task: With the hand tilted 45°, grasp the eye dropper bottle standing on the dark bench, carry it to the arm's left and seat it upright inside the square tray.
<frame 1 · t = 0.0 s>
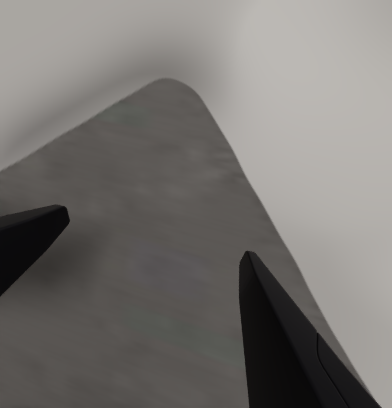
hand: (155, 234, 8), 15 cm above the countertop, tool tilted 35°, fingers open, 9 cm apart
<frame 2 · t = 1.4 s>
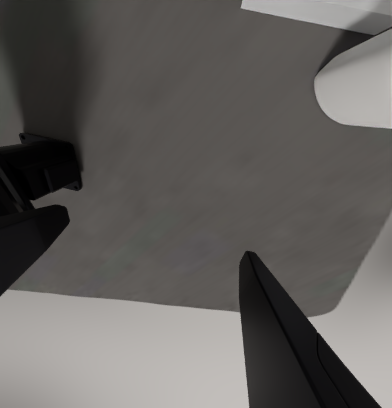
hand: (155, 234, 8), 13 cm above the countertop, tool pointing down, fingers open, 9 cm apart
eye dropper bottle: (338, 92, 14), on the countertop
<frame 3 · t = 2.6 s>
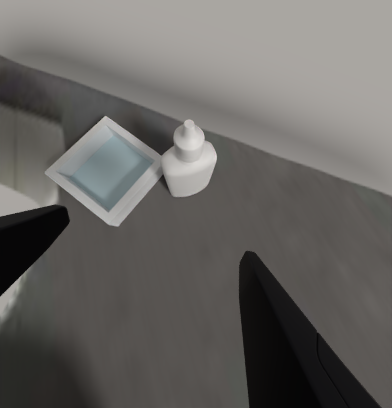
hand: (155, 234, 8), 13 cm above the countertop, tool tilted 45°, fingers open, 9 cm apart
square tray: (115, 173, 22), on the countertop
eye dropper bottle: (188, 184, 23), on the countertop
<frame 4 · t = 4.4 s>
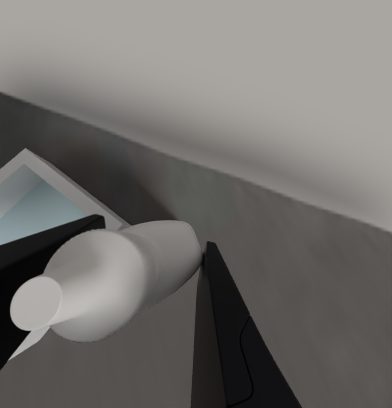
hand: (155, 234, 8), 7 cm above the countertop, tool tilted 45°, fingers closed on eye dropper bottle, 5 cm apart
square tray: (45, 240, 14), on the countertop
eye dropper bottle: (164, 255, 14), on the countertop, touching gripper
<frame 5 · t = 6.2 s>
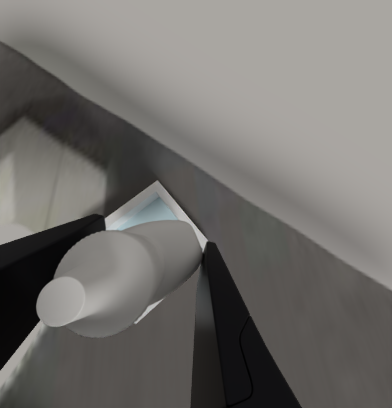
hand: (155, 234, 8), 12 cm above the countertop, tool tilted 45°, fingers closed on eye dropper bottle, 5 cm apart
square tray: (152, 244, 19), on the countertop
eye dropper bottle: (162, 253, 14), point 5 cm above the countertop, touching gripper
when the fingers open (8 cm above the countertop, at t = 7.6 s): eye dropper bottle stays where it is, resting on square tray.
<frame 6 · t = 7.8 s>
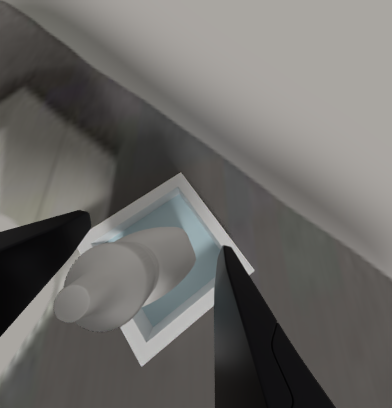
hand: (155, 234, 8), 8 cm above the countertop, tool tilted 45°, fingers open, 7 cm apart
square tray: (167, 253, 15), on the countertop
eye dropper bottle: (162, 255, 15), resting on square tray
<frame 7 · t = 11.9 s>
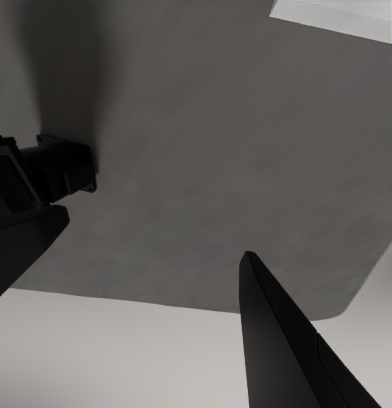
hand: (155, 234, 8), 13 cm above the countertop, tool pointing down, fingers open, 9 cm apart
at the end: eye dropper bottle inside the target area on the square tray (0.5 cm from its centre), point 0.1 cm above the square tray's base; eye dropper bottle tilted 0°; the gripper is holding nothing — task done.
